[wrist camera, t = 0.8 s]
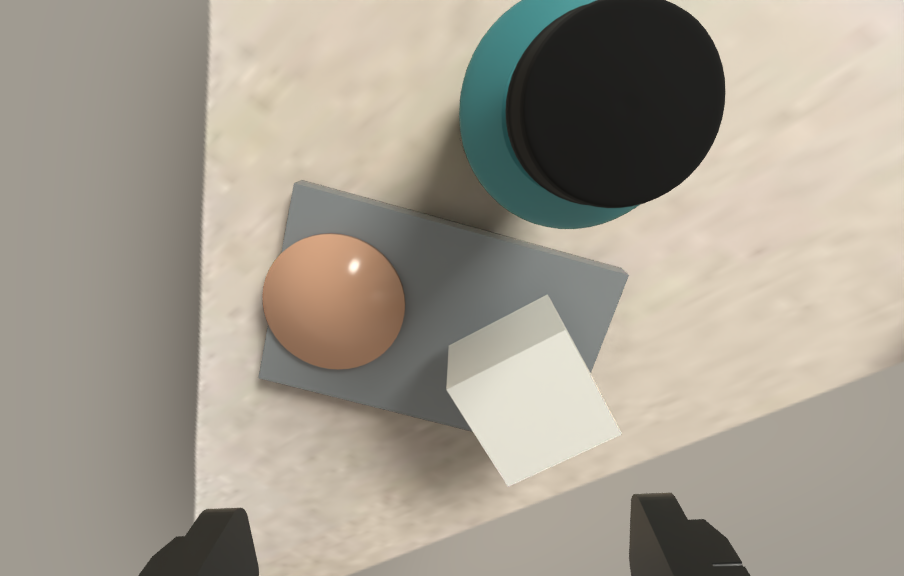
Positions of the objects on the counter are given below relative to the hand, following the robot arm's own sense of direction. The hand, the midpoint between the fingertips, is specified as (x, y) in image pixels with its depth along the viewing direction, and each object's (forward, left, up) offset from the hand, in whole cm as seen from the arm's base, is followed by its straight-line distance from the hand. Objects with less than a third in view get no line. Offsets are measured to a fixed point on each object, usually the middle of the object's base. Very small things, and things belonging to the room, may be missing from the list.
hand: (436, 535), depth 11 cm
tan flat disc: (+6, +3, -20) cm, 21 cm away
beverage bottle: (-1, -9, -22) cm, 23 cm away
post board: (0, +3, -21) cm, 22 cm away
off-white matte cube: (-5, +3, -18) cm, 19 cm away
